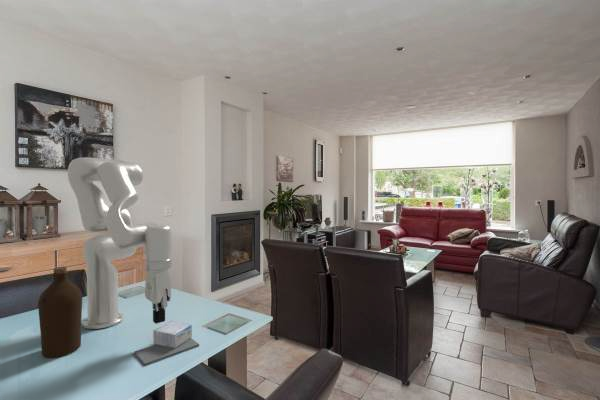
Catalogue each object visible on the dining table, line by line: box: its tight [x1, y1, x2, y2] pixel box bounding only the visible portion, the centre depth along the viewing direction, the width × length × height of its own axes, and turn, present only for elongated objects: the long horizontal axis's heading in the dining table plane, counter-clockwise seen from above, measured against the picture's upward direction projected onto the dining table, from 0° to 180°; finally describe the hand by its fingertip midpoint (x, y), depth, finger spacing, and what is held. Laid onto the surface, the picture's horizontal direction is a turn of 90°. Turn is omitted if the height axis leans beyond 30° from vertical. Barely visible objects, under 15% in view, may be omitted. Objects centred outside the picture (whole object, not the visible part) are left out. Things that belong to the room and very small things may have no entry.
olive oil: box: [37, 266, 83, 359], centre depth 96 cm, size 11×11×25 cm
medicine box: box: [152, 320, 193, 348], centre depth 101 cm, size 8×4×9 cm
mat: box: [133, 337, 200, 366], centre depth 97 cm, size 9×16×1 cm, turn 134°
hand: (159, 321), depth 101 cm, fingers closed
